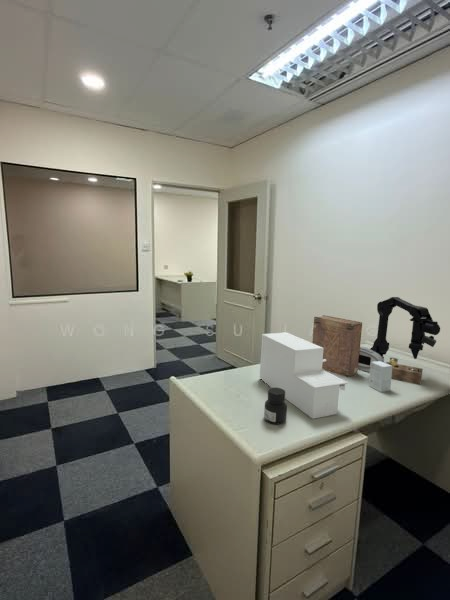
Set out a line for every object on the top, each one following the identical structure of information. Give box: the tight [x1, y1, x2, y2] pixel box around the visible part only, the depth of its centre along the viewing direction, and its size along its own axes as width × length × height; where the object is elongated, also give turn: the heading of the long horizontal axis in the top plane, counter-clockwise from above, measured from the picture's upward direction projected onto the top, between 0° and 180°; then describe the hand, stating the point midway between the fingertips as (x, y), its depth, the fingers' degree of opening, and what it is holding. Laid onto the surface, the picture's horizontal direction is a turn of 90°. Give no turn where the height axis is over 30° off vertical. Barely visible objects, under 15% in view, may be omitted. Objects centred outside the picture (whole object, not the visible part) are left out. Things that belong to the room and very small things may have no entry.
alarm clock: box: [358, 346, 385, 373], centre depth 191 cm, size 23×6×13 cm, turn 42°
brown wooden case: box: [311, 315, 363, 378], centre depth 187 cm, size 25×9×30 cm, turn 40°
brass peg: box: [389, 357, 399, 368], centre depth 180 cm, size 4×4×6 cm
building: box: [259, 331, 349, 419], centre depth 151 cm, size 45×18×25 cm, turn 23°
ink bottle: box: [263, 387, 288, 425], centre depth 128 cm, size 10×9×12 cm
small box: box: [368, 361, 393, 393], centre depth 162 cm, size 8×6×13 cm
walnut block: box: [385, 361, 424, 386], centre depth 177 cm, size 18×10×6 cm, turn 56°
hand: (415, 358), depth 173 cm, fingers closed
